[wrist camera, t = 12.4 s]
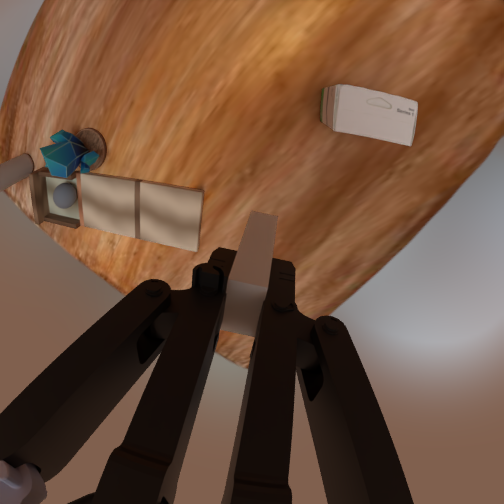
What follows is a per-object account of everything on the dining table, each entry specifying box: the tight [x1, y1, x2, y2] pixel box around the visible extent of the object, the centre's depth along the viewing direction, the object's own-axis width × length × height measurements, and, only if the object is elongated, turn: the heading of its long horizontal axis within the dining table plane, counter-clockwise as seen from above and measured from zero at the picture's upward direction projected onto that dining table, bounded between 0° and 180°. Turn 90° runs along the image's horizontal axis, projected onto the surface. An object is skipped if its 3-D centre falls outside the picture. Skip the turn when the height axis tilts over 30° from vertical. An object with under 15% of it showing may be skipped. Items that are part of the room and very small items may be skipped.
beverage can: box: [0, 154, 33, 192], centre depth 38 cm, size 5×5×12 cm
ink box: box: [320, 84, 418, 146], centre depth 28 cm, size 9×5×12 cm, turn 87°
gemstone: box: [40, 128, 106, 178], centre depth 35 cm, size 7×9×12 cm
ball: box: [53, 183, 77, 209], centre depth 42 cm, size 4×4×4 cm
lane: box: [29, 167, 204, 252], centre depth 43 cm, size 10×33×4 cm, turn 80°
